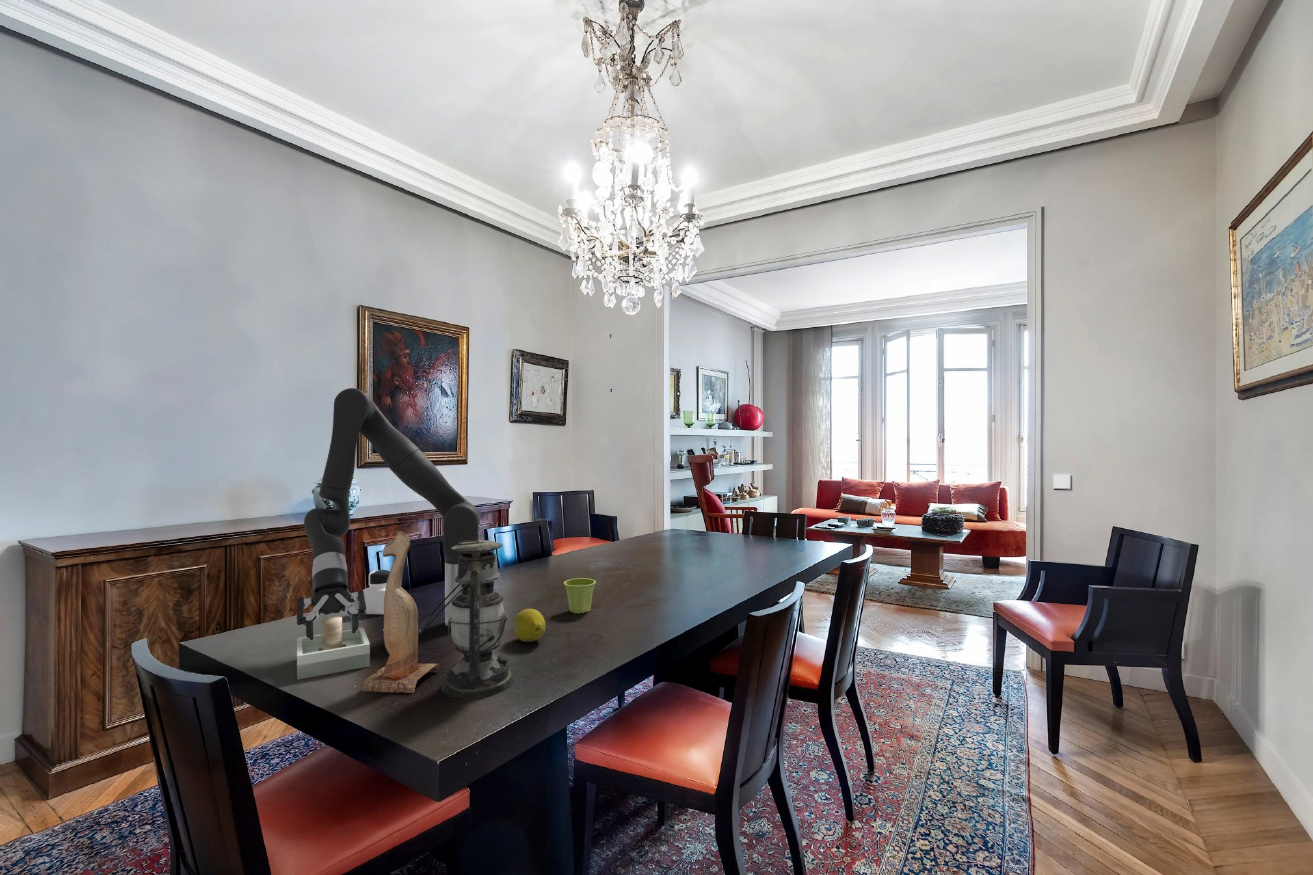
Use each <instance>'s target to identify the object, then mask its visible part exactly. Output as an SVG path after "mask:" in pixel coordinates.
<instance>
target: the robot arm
mask: <svg viewBox="0 0 1313 875" xmlns="http://www.w3.org/2000/svg"><path fill="white" fill-rule="evenodd" d="M332 415H333V418H332V419H333V420H332V430H331V431H332V432H331V438H330V445H329V449H328V450H329V451H328V454H327V459H326V462H325V466H324V471H323V473H322V474H323V476H322V479H321V484H320V488H319V493H318V494H319V497H320V498H321V499H324V500H327V501H330V502H333V503H334V505H335V507H336V509H330V508H329V509H328V508H321V507H320V508H319V507H315V508H311V509H310V510H309V511H308V512H307V513H306V514H305V516H304V518H303V519H304V520H303V526H304V527H303V528H304V531H305V534H306V536H307V539H308V541H309V543H310V546H311V548H312V561H313V562H312V563H313V564H312V575H311V577H312V596H311V598H309V597H308V598H305V597H304V596H299V597H298V598H297V605H296V606H297V609H296V625H297V626H302V625H303V626H304V627H305V637H307V638H310V640H313V635H314V622H315V621H316V620H318V619H319V617H320V616H321V615H324V616H325V615H331V614H339V613H340V612H342V613H343V614H345V615H347V616H349V617H350V625H351V630H352V633H355V632H356V630H358V628H360V626H359V624H360V622H359V618H360V617H365V615H367V614H366V603H365V598H364V592H363V590H364V589H358V590H357V591H356V592H351V591H350V588H349V578H348V565H347V564H348V563H347V561H346V552H345V542H344V540H342V538H341V537H344V536H345V535H346V534H347V533H348V531H349V529H350V528H351V527H350V526H351V516H350V515H351V514H350V493H351V488H352V484H353V479H354V475H355V474H354V473H355V467H356V453H357V445H358V439H359V436H360V434H361V435H362V436H363V437H364V438H365V439H366V440H367V441H368V442H369V443H370V444H371V445H372V446H373V448H374V449H375V451H376V452H377V454H378V456H380V459H381V460H382V462H384V464H385V465H386V466H387V467H388V468H389V470H390V471H391V472H392V473H393V474H394V475H395V476H396V477H397V478H398V480H400V481H401V483H403V484H404V485H405V486H407V487H408V489H410V490H411V491H413V492H414V493H416V494H418V495H419V496H420V497H422V498H423V499H424V500H426V501H427V502H428V503H430V504H431V505H432V506H433V507H434V508H435V510H436V511H437V512H438V513H439V514H440V515H441V517H442V518H443V522H442V525H443V526H442V532H443V534H442V535H443V536H442V538H443V554H444V599H445V598H446V597H447V596H448V595H449V594H450V593H451V592H452V591H453V589H454V588H455V587H456V586H457V585H458V584H459V583H457V582H455V581H454V580H455V577H456V576H457V574H458V560H459V558H460V556H461V552H458V551H455V550H453V549H452V547H453V546H456V545H458V543H459V542H460V541H468V540H479V541H480V539H479V538H480V537H479V527H480V526H479V525H480V523H481V514H480V511H479V509H478V508H477V507H476V506H475V505H474V504H472V503H471V502H470V501H469V500H467V498H465V497H464V496H463V495H462V494H461V493H460V492H458V491H457V490H456V489H455V488H454V487H453V486H452V485H451V484H450V483H449V481H447V479H446V478H445V477H444V475H443V474H442V473H441V471H440V470H439V469H438V468H437V467H436V466H435V464H434V463H433V462H432V461H431V460H430V459H429V458H428V457H427V455H425V454H424V452H423V451H422V450H421V449H420V448H419V447H418V446H417V445H416V444H415V443H414V442H412V441H411V440H410V439H409V438H408V437H406V435H405V434H403V433H402V432H400V431H399V430H398V429H396V428H395V427H394V426H393V425H392V424H391V423H390V422H389V420H388V419H387V418H386V416H385V415H384V414H383V413H382V411H381V410H380V409H379V407H378V406H377V405H376V403H375V402H374V400H373V399H372V397H371V396H369V395H368V393H366V392H365V391H363V390H362V389H359V388H354V387H350V388H345V389H343V390H342V391H340V392H338V394H337V395H336V396H335V398H334V401H333V414H332ZM462 543H463V542H462ZM460 544H461V543H460ZM463 554H465V553H463ZM461 584H462V583H461ZM461 584H460V586H459V587H458V588H457V589H456V590H455V591H454V592H453V593H452V594H451V595H450V596H449V597H448V598H447V599H446V600H445V601H444V606H445V605H446V604H447V603H448V602H449V601H450V600H451V599H452V598H453V597H454V596H455V595H456V594H457V593H458V592H459V591H460V590H461V589H462V588H461ZM460 594H462V591H461V592H460V593H459V594H458V595H460ZM458 595H457V596H458ZM457 596H456V597H457ZM456 597H455V598H454V599H456ZM351 599H352V600H354V601H355V602H356V603H358V609H357V608H355V606H353V604H352V603H351V602H350V601H351ZM454 599H453V600H454ZM453 600H452V601H453ZM452 601H451V602H450V603H449V604H448V605H447V606H446V607H445V609H444V611H445V612H444V619H445V620H444V621H445V622H444V623H445V626H446V627H448V621H449V619H450V618H451V613H452V609H453V605H452ZM309 605H311V606H312V607H313V608H312V609H311V611H310V613H309V614H308V615H307V616H304V611H305V610H306V609H307V608H308V606H309ZM304 609H305V610H304ZM450 621H451V619H450ZM449 628H451V626H450V624H449Z"/></svg>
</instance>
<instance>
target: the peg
mask: <svg viewBox="0 0 1313 875" xmlns="http://www.w3.org/2000/svg"><path fill="white" fill-rule="evenodd" d="M321 621H322V622H321V623H322V624H321V626H322V627H321V628H322V629H321V630H322V633H321V634H322V651H324V650H330V649H336V648H342V631H343V617H342V616H329V617H326V618H323V619H322V620H321Z"/></svg>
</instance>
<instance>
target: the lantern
mask: <svg viewBox="0 0 1313 875" xmlns="http://www.w3.org/2000/svg"><path fill="white" fill-rule="evenodd" d="M462 542H463V543H462ZM460 543H461V544H460ZM503 546H504V545H503V543H500V542H497V541H493V540H487V539H486V540H484V539H483V540H480V539H479V540H468V541H460V542H459V543H458V545H456V546H453V547H452V549H453V550H455V551H458V552H461V556H460V558H459V560H458V574H457V576H456V577H455V580H454V581H455V582H457V583H459V584H458V585H457V586H456V587H455V588H454V589H453V591H452V592H451V593H450V594H449V595H448V596H447V597H446V598H445V597H444V599H443V600H442V601H441V602H440V603H439V604H438V605H437V606H436V607H435V608H434V609H433V610H432V612H431V613H430V614H429V615H428V616H427V618H426V619H425V621H424V622H423V623H422V625H421V626H420V627H418V636H419V635H420V634H422V633H423V632H424V631H425V630H426V629H427V628H428V627H429V625H431V623H432V622H434V621H435V619H436V618H437V617H438V616H439V615H441V613H442V612H443V611H445V607H446V606H447V605H448V604H449V603H450V602H451V601H452V600H453V599H454V598H455V597H456V596H457V595H458V594H459V593H460V592H461V591H462V594H460V595H458V596H457V597H456V599H454V600H453V601H452V605H453V609H452V613H451V618H450V619H451V621H450V619H449V621H448V626H447V631H448V636H449V640H450V642H451V643H452V645H453V646H454V650H455V651H456V652H458V653H460V654H463V658H460V660H457V662H454V664H452V665H451V666H449V667H448V668H447V670H446V677H445V678H444V681H443V683H442V685H441V688H440V689H441V692H442V693H443V694H445V696H447V697H451V698H454V699H462V700H463V699H464V700H470V699H480V698H482V699H483V698H487V697H491V696H495V695H497V694H499V693H502V692H505V691H506V690H507V689H509V688H510V687H512V685H513V684H514V681H515V679H514V676H513V673H512V672H511V670H510V669H509V666H510V665H509V664H510V663H508V662H509V658H508V657H506V656H505V655H502V654H500V655H498V656H496V655H494V654H493V651H494V650H496V649H498V648H499V647H501V640H502V638H503V636H504V633H505V627H506V622H507V620H508V618H507V617H506V614H505V609H504V605H503V604H504V603H503V601H504V597H503V596H502V595H500V593H498V592H496V591H494V590H495V589H494V588H495V586H494V585H495V582H496V581H498V580H500V579H501V578H502V577H501V574H500V573H499V571H498V562H497V560H498V559H497V556H496V554H495V552H494V551H495V550H498V549H501V548H502V547H503ZM463 553H465V554H463ZM461 583H462V584H461ZM460 584H461V588H462V589H461V590H460V591H459V592H458V593H457V594H456V595H455V596H454V597H453V598H452V599H451V600H450V601H449V602H448V603H447V604H446V605H445V604H444V606H443V607H442V608H441V609H440V610H439V611H438V613H436V614H435V615H434V617H432V619H431V620H430V621H429V622H428V623H427V621H428V620H429V619H430V617H431V616H432V615H433V614H434V613H435V612H436V611H437V610H438V609H439V607H441V605H442V604H443V603H445V600H446V599H447V598H448V597H449V596H450V595H451V594H452V593H453V592H454V591H455V590H456V589H457V588H458V587H459V586H460ZM426 623H427V624H426ZM425 624H426V625H425ZM449 624H450V626H451V627H449ZM450 632H451V633H450Z"/></svg>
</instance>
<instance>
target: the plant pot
mask: <svg viewBox="0 0 1313 875" xmlns="http://www.w3.org/2000/svg"><path fill="white" fill-rule="evenodd" d="M596 583H597V582H596V580H594V579H593V578H587V577H586V578H583V577H577V578H572V579H567V580H565V581H564V582H563V584H564V587H565V591H566V595H567V600H568V609H569V612H570V613H573V614H576V613H577V614H580V613H582V614H584V613H590V611H591V609H592V608H591V607H592V599H593V592H594V588H595V584H596Z"/></svg>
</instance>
